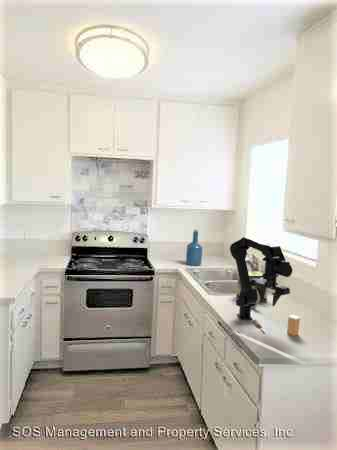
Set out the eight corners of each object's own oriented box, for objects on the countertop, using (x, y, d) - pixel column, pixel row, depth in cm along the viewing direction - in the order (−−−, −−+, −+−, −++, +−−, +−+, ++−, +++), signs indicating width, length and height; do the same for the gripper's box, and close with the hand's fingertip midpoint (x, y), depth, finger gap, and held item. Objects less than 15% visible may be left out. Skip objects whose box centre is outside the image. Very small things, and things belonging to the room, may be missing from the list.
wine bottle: (204, 265, 310) (206, 230, 307) (195, 267, 300) (198, 231, 297) (191, 262, 318) (193, 228, 315) (182, 264, 308) (184, 229, 305)
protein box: (236, 296, 224) (238, 271, 222) (258, 295, 228) (260, 271, 226) (244, 301, 214) (246, 275, 212) (267, 300, 218) (269, 275, 216)
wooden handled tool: (251, 324, 177) (252, 319, 176) (256, 324, 177) (257, 319, 177) (261, 336, 163) (262, 331, 162) (266, 336, 163) (267, 331, 163)
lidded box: (286, 333, 165) (288, 316, 164) (291, 331, 167) (292, 314, 166) (293, 336, 162) (295, 318, 161) (298, 334, 164) (300, 317, 164)
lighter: (247, 307, 203) (248, 293, 202) (248, 306, 204) (249, 292, 204) (259, 310, 199) (260, 296, 198) (260, 309, 200) (262, 295, 200)
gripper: (244, 269, 172) (241, 301, 173) (277, 278, 157) (274, 313, 159) (258, 267, 179) (255, 297, 180) (292, 275, 164) (288, 309, 166)
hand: (267, 304), depth 171 cm, fingers open, 6 cm apart
